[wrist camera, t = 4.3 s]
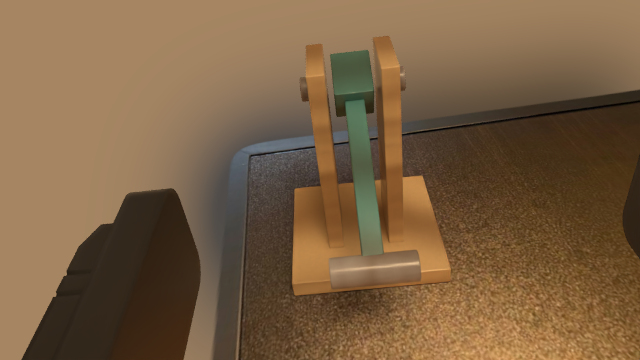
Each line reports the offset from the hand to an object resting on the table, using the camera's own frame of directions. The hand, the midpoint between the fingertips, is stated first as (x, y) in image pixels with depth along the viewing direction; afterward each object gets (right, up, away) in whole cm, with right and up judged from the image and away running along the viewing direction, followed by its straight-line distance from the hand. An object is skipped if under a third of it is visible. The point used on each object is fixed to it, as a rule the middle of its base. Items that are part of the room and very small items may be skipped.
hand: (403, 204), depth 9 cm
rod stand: (+2, -4, +28) cm, 29 cm away
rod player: (+1, +1, +20) cm, 20 cm away
